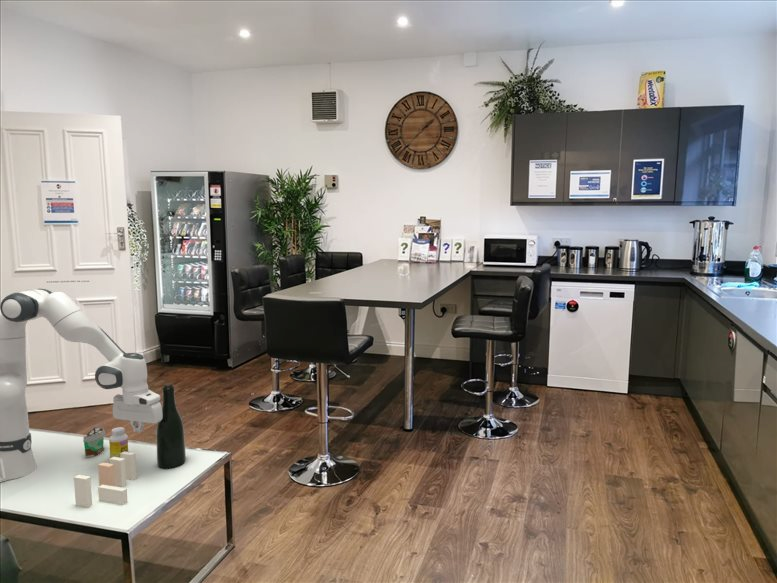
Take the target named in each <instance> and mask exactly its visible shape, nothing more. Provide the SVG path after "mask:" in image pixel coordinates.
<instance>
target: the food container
mask: <svg viewBox="0 0 777 583" xmlns="http://www.w3.org/2000/svg"><path fill="white" fill-rule="evenodd" d="M105 435H106V431H105V429H104V428H103V427H101V426H96V425H95V426H92V430H91V431H89V432H88V433H87V435H86V436H83V439H82V440H83V441H82V442H83V445H84V453H85V454H84V456H85V459H90V458H94V457H96V456H97V457H98V456H99V455H101V454H102V453H103V452H104V440H105ZM102 451H103V452H102ZM101 452H102V453H101ZM100 453H101V454H100ZM98 454H99V455H98Z"/></svg>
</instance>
